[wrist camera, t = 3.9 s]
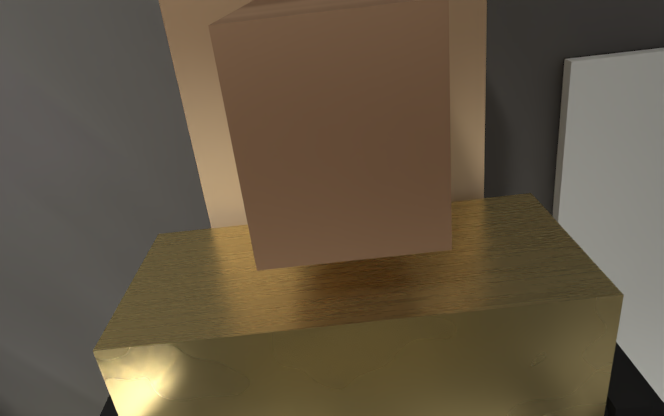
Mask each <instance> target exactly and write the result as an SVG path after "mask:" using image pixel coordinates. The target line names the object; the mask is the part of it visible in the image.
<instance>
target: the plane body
mask: <svg viewBox="0 0 664 416" xmlns="http://www.w3.org/2000/svg"><path fill="white" fill-rule="evenodd" d="M159 4H160V9H161V13H162V17H163V22H164V26H165V30H166V35H167V39H168V43H169V47H170V52H171V56H172V60H173V65H174V69H175V73H176V78H177V82H178V86H179V91H180V95H181V99H182V103H183V108H184V112H185V116H186V121H187V125H188V129H189V134H190V138H191V142H192V146H193V151H194V155H195V159H196V164H197V168H198V172H199V177H200V181H201V185H202V190H203V194H204V198H205V202H206V207H207V211H208V215H209V220H210V224H211V228H219V227H228V226H238V225H247V224H248V228H249V233H250V238H251V243H252V249H253V254H254V259H255V264H256V269H257V271H260V270H269V269H278V268H288V267H297V266H306V265H316V264H325V263H334V262H344V261H353V260H362V259H371V258H381V257H390V256H399V255H409V254H418V253H427V252H437V251H446V250H452V212H451V202H456V201H465V200H474V199H483V198H484V154H485V91H486V27H487V0H159Z"/></svg>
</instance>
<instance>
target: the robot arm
mask: <svg viewBox="0 0 664 416" xmlns="http://www.w3.org/2000/svg"><path fill="white" fill-rule="evenodd" d="M100 416H118V413H117V411H116V408H115V406H114V403H113V401H112V398H111V396H110V395H109V397H108V399H107V402H106V404H105V406H104V408H103V410H102V412H101V414H100ZM604 416H664V402H663V401H662V400H661V399H660V397H659V396H658V395H657V393H656V392H655V391H654V390H653V388H652V387H651V386H650V384H649V383H648V382H647V381H646V379H645V378H644V377H643V375H642V374H641V373H640V372H639V370H638V369H637V368H636V366H635V365H634V364H633V363H632V361H631V360H630V359H629V358H628V356H627V355H626V354H625V352H624V351H623V350H622V349H621V347H620V346H619V345H618V343H617V342H616V346H615V352H614V358H613V364H612V370H611V376H610V382H609V388H608V394H607V400H606V406H605V412H604Z"/></svg>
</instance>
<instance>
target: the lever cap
mask: <svg viewBox="0 0 664 416" xmlns="http://www.w3.org/2000/svg"><path fill="white" fill-rule="evenodd" d="M451 212H452V250H446V251H437V252H427V253H418V254H409V255H399V256H390V257H381V258H371V259H362V260H353V261H344V262H334V263H325V264H316V265H306V266H297V267H288V268H278V269H269V270H260V271H257V269H256V264H255V259H254V254H253V249H252V243H251V238H250V233H249V228H248V224H247V225H238V226H228V227H219V228H210V229H201V230H192V231H183V232H174V233H165V234H158V236H157V238H156V240H155V241H154V243H153V245H152V247H151V249H150V250H149V252H148V254H147V256H146V257H145V259H144V261H143V263H142V265H141V266H140V268H139V270H138V272H137V273H136V275H135V277H134V279H133V281H132V282H131V284H130V286H129V288H128V289H127V291H126V293H125V295H124V297H123V298H122V300H121V302H120V304H119V305H118V307H117V309H116V311H115V313H114V314H113V316H112V318H111V320H110V321H109V323H108V325H107V327H106V329H105V330H104V332H103V334H102V336H101V337H100V339H99V341H98V343H97V345H96V346H95V348H94V350H93V353H94V355H95V358H96V360H97V363H98V365H99V368H100V370H101V373H102V375H103V378H104V380H105V383H106V385H107V388H108V391H109V393H110V396H111V398H112V401H113V403H114V406H115V408H116V411H117V413H118V416H604V412H605V406H606V400H607V394H608V388H609V382H610V376H611V370H612V364H613V358H614V352H615V346H616V339H617V333H618V327H619V321H620V315H621V309H622V303H623V297H624V295H623V293H622V292H621V291H620V290H619V289H618V288H617V287H616V286H615V285H614V284H613V283H612V281H611V280H610V279H609V278H608V277H607V276H606V275H605V274H604V273H603V272H602V270H601V269H600V268H599V267H598V266H597V265H596V264H595V263H594V262H593V261H592V259H591V258H590V257H589V256H588V255H587V254H586V253H585V252H584V251H583V250H582V248H581V247H580V246H579V245H578V244H577V243H576V242H575V241H574V240H573V239H572V238H571V236H570V235H569V234H568V233H567V232H566V231H565V230H564V229H563V228H562V227H561V225H560V224H559V223H558V222H557V221H556V220H555V219H554V218H553V217H552V216H551V214H550V213H549V212H548V211H547V210H546V209H545V208H544V207H543V206H542V205H541V203H540V202H539V201H538V200H537V199H536V198H535V197H534V196H533V195H532V194H531V193H528V194H519V195H510V196H501V197H492V198H483V199H474V200H465V201H456V202H451Z"/></svg>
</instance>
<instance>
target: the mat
mask: <svg viewBox="0 0 664 416" xmlns="http://www.w3.org/2000/svg"><path fill="white" fill-rule="evenodd" d="M552 217H553V218H554V219H555V220H556V221H557V222H558V223H559V224H560V225H561V227H562V228H563V229H564V230H565V231H566V232H567V233H568V234H569V235H570V236H571V238H572V239H573V240H574V241H575V242H576V243H577V244H578V245H579V246H580V247H581V248H582V250H583V251H584V252H585V253H586V254H587V255H588V256H589V257H590V258H591V259H592V261H593V262H594V263H595V264H596V265H597V266H598V267H599V268H600V269H601V270H602V272H603V273H604V274H605V275H606V276H607V277H608V278H609V279H610V280H611V281H612V283H613V284H614V285H615V286H616V287H617V288H618V289H619V290H620V291H621V292H622V293H623V295H624V297H623V303H622V309H621V315H620V321H619V327H618V333H617V339H616V342H617V343H618V345H619V346H620V347H621V349H622V350H623V351H624V352H625V354H626V355H627V356H628V358H629V359H630V360H631V361H632V363H633V364H634V365H635V366H636V368H637V369H638V370H639V372H640V373H641V374H642V375H643V377H644V378H645V379H646V381H647V382H648V383H649V384H650V386H651V387H652V388H653V390H654V391H655V392H656V393H657V395H658V396H659V397H660V399H661V400H662V401H663V402H664V48H656V49H647V50H638V51H630V52H621V53H612V54H604V55H595V56H586V57H577V58H569V59H565V61H564V73H563V86H562V99H561V112H560V125H559V138H558V150H557V163H556V176H555V189H554V202H553V215H552Z"/></svg>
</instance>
